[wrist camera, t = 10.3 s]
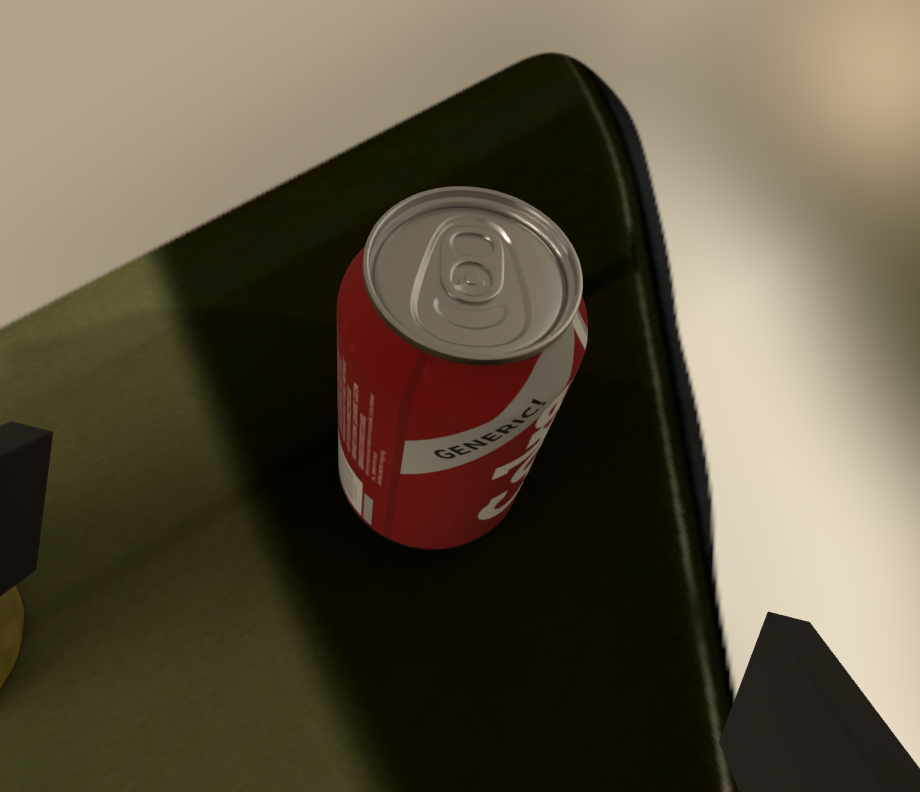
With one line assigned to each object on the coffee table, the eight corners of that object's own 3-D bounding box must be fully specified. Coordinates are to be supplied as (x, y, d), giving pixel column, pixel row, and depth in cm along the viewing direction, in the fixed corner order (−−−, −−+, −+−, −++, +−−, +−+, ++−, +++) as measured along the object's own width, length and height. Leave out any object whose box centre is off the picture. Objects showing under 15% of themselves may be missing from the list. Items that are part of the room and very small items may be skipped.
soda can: (329, 551, 27) (321, 368, 17) (347, 388, 31) (350, 155, 20) (517, 563, 28) (619, 395, 18) (514, 402, 31) (598, 183, 21)
